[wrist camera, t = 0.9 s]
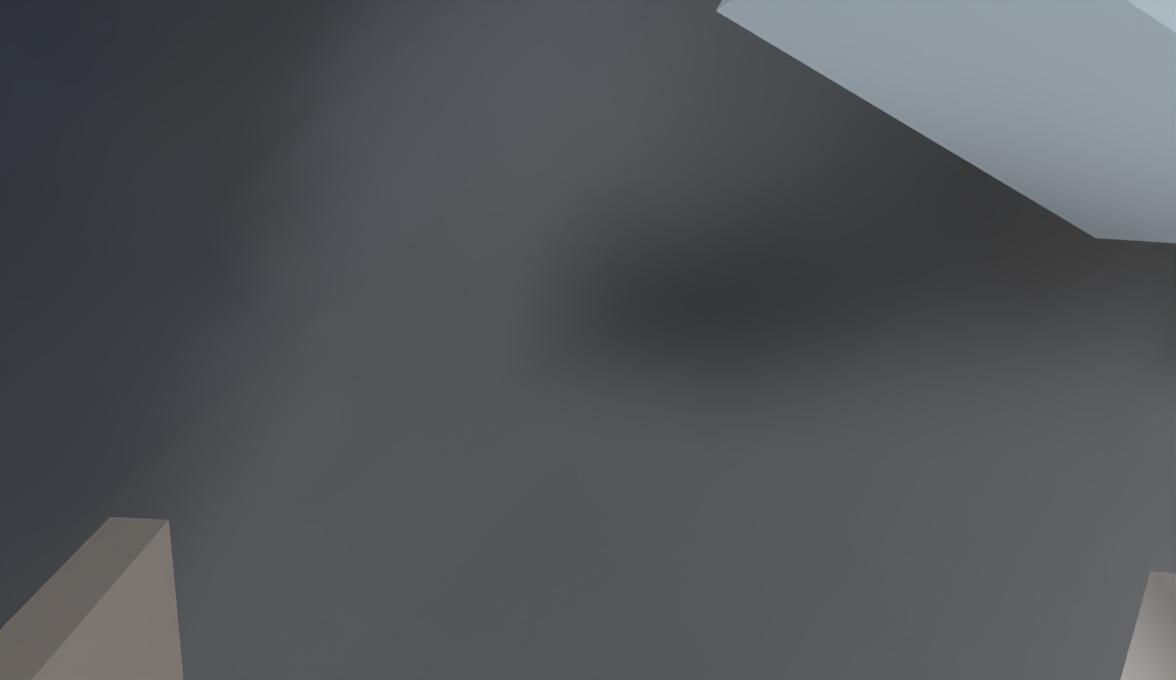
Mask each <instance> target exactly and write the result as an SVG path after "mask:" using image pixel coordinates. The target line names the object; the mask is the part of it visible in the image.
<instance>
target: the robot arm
mask: <svg viewBox="0 0 1176 680" xmlns="http://www.w3.org/2000/svg"><path fill="white" fill-rule="evenodd" d="M0 680H183V670H182V659H181V648H180V637H179V627H178V616H177V605H176V594H175V583H174V572H173V562H172V551H171V540H170V529H169V520H160V519H141V518H122V517H110V518H109V519H108V520H107V521H106V522H105V523H104V524H103V525H102V526H101V527H100V528H99V529H98V530H97V531H96V532H95V533H94V534H93V535H92V536H91V537H90V538H89V540H88V541H87V542H86V543H85V544H84V545H83V546H82V547H81V548H80V549H79V550H78V551H77V552H76V553H75V554H74V555H73V556H72V557H71V558H70V559H69V560H68V561H67V562H66V563H65V564H64V565H63V566H62V567H61V568H60V569H59V570H58V571H57V572H56V573H55V574H54V575H53V576H52V577H51V578H50V579H49V580H48V581H47V582H46V583H45V584H44V585H43V586H42V587H41V588H40V589H39V591H38V592H37V593H36V594H35V595H34V596H33V597H32V598H31V599H30V600H29V601H28V602H27V603H26V604H25V605H24V606H23V607H22V608H21V609H20V610H19V611H18V612H17V613H16V614H15V615H14V616H13V617H12V618H11V619H10V620H9V621H8V622H7V623H6V624H5V625H4V626H3V627H2V628H1V629H0ZM1121 680H1176V573H1162V572H1150V575H1149V579H1148V582H1147V586H1146V590H1145V593H1144V597H1143V600H1142V604H1141V608H1140V611H1139V615H1138V618H1137V622H1136V626H1135V629H1134V633H1133V637H1132V640H1131V644H1130V647H1129V651H1128V655H1127V658H1126V662H1125V665H1124V669H1123V673H1122V676H1121Z"/></svg>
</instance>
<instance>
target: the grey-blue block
mask: <svg viewBox="0 0 1176 680" xmlns="http://www.w3.org/2000/svg"><path fill="white" fill-rule="evenodd" d="M716 11H717V12H719V13H720V14H722V15H724V16H725V17H727V18H729V19H730V20H732V21H734V22H735V23H737V24H739V25H740V26H742V27H744V28H745V29H747V30H749V31H750V32H752V33H754V34H755V35H757V36H759V37H760V38H762V39H764V40H765V41H767V42H769V43H770V44H772V45H774V46H775V47H777V48H779V49H781V50H782V51H784V52H786V53H787V54H789V55H791V56H792V57H794V58H796V59H797V60H799V61H801V62H802V63H804V64H806V65H807V66H809V67H811V68H812V69H814V70H816V71H817V72H819V73H821V74H822V75H824V76H826V77H827V78H829V79H831V80H832V81H834V82H836V83H837V84H839V85H841V86H842V87H844V88H846V89H847V90H849V91H851V92H852V93H854V94H856V95H857V96H859V97H861V98H862V99H864V100H866V101H867V102H869V103H871V104H872V105H874V106H876V107H877V108H879V109H881V110H882V111H884V112H886V113H887V114H889V115H891V116H892V117H894V118H896V119H897V120H899V121H901V122H902V123H904V124H906V125H907V126H909V127H911V128H912V129H914V130H916V131H918V132H919V133H921V134H923V135H924V136H926V137H928V138H929V139H931V140H933V141H934V142H936V143H938V144H939V145H941V146H943V147H944V148H946V149H948V150H949V151H951V152H953V153H954V154H956V155H958V156H959V157H961V158H963V159H964V160H966V161H968V162H969V163H971V164H973V165H974V166H976V167H978V168H979V169H981V170H983V171H984V172H986V173H988V174H989V175H991V176H993V177H994V178H996V179H998V180H999V181H1001V182H1003V183H1004V184H1006V185H1008V186H1009V187H1011V188H1013V189H1014V190H1016V191H1018V192H1019V193H1021V194H1023V195H1024V196H1026V197H1028V198H1029V199H1031V200H1033V201H1034V202H1036V203H1038V204H1039V205H1041V206H1043V207H1044V208H1046V209H1048V210H1049V211H1051V212H1053V213H1055V214H1056V215H1058V216H1060V217H1061V218H1063V219H1065V220H1066V221H1068V222H1070V223H1071V224H1073V225H1075V226H1076V227H1078V228H1080V229H1081V230H1083V231H1085V232H1086V233H1088V234H1090V235H1091V236H1093V237H1095V238H1102V239H1117V240H1133V241H1149V242H1164V243H1176V0H722V1H721V3H720V5H719V7H718V8H717V10H716Z"/></svg>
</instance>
